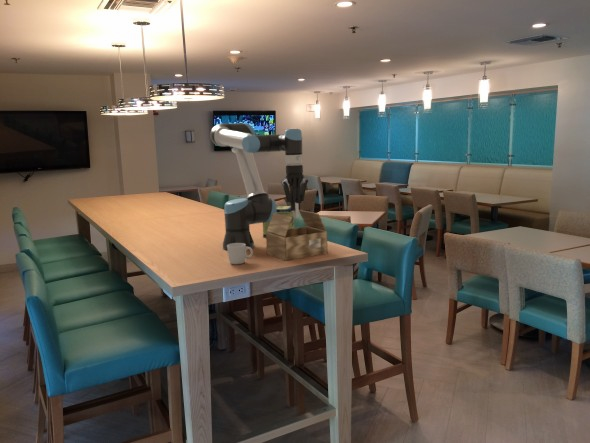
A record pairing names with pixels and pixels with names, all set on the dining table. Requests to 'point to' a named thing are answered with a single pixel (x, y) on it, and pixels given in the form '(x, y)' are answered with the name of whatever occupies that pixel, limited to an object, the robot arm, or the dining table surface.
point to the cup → (238, 253)
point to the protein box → (283, 211)
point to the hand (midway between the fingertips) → (295, 217)
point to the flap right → (312, 220)
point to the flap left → (279, 224)
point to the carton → (297, 243)
